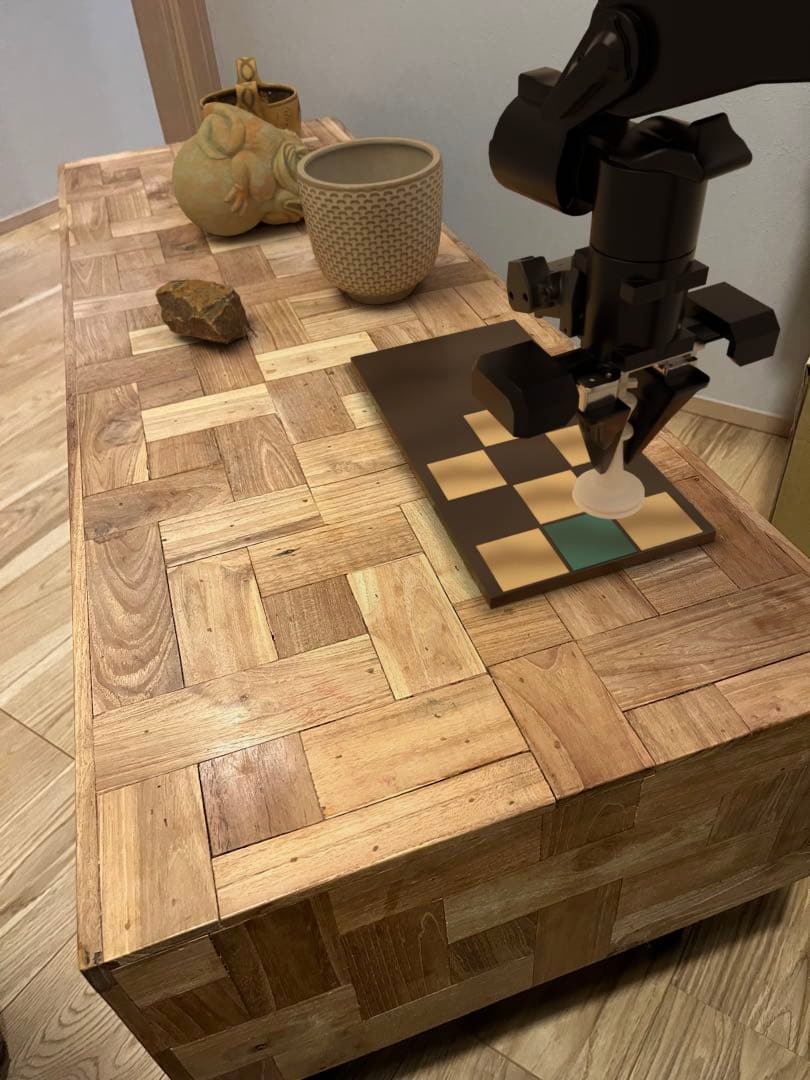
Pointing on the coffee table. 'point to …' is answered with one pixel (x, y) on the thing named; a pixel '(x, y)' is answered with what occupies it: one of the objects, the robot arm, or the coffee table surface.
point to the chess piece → (612, 476)
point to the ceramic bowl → (260, 98)
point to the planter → (373, 214)
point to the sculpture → (238, 172)
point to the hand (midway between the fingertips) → (612, 465)
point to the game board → (512, 475)
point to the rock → (202, 310)
